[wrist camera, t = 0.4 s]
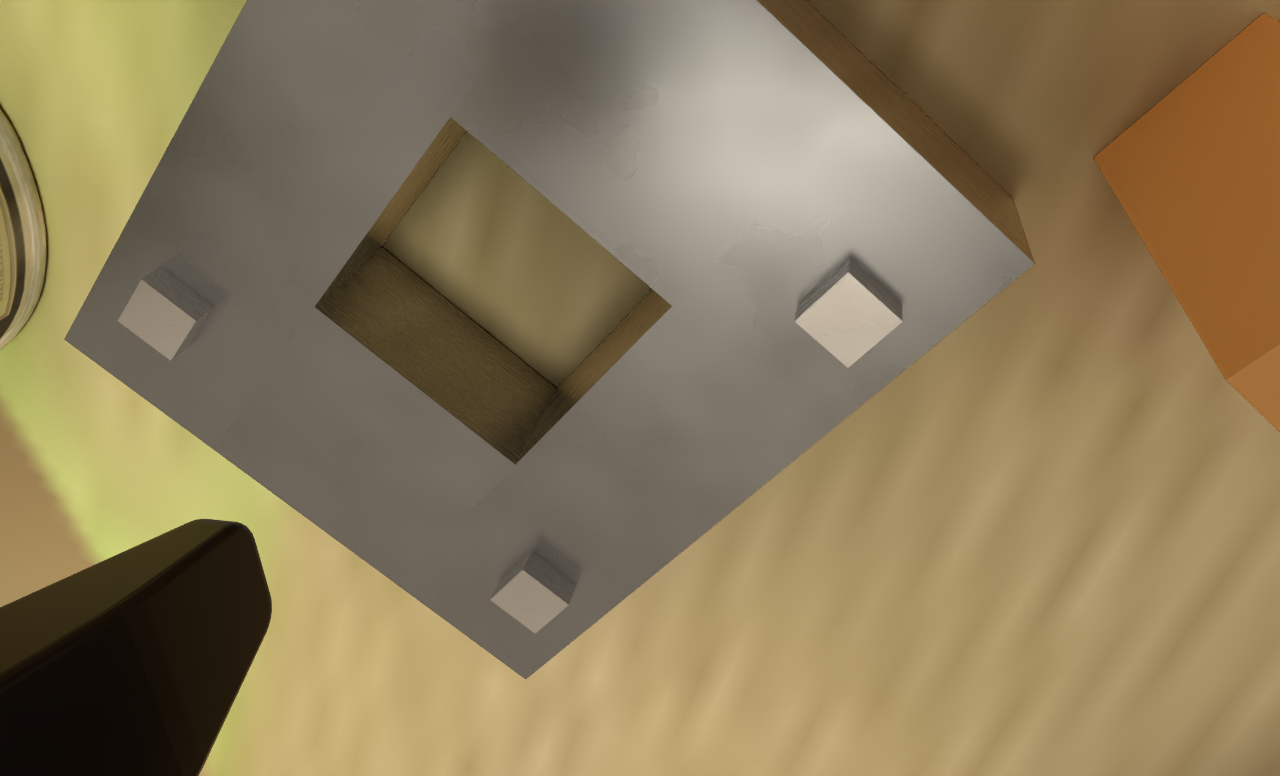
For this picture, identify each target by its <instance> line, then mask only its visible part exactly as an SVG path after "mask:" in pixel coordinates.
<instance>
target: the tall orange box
mask: <svg viewBox="0 0 1280 776" xmlns="http://www.w3.org/2000/svg"><path fill="white" fill-rule="evenodd" d="M1094 159H1095V161H1096V163H1097V164H1098V166H1099V168H1100V169H1101V171H1102V173H1103V174H1104V176H1105V178H1106V179H1107V181H1108V183H1109V185H1110V186H1111V188H1112V190H1113V191H1114V193H1115V195H1116V196H1117V198H1118V200H1119V201H1120V203H1121V205H1122V206H1123V208H1124V210H1125V211H1126V213H1127V215H1128V216H1129V218H1130V220H1131V221H1132V223H1133V225H1134V227H1135V228H1136V230H1137V232H1138V233H1139V235H1140V237H1141V238H1142V240H1143V242H1144V243H1145V245H1146V247H1147V248H1148V250H1149V252H1150V253H1151V255H1152V257H1153V258H1154V260H1155V262H1156V264H1157V265H1158V267H1159V269H1160V270H1161V272H1162V274H1163V275H1164V277H1165V279H1166V280H1167V282H1168V284H1169V285H1170V287H1171V289H1172V290H1173V292H1174V294H1175V295H1176V297H1177V299H1178V301H1179V302H1180V304H1181V306H1182V307H1183V309H1184V311H1185V312H1186V314H1187V316H1188V317H1189V319H1190V321H1191V322H1192V324H1193V326H1194V327H1195V329H1196V331H1197V332H1198V334H1199V336H1200V337H1201V339H1202V341H1203V343H1204V344H1205V346H1206V348H1207V349H1208V351H1209V353H1210V354H1211V356H1212V358H1213V359H1214V361H1215V363H1216V364H1217V366H1218V368H1219V369H1220V371H1221V373H1222V374H1223V376H1224V378H1225V380H1226V381H1227V382H1228V383H1229V384H1230V385H1231V386H1232V387H1233V388H1235V389H1236V390H1237V391H1238V392H1239V393H1240V394H1241V395H1242V396H1243V397H1244V398H1245V399H1246V400H1247V401H1248V402H1249V403H1250V404H1251V405H1252V406H1253V407H1254V408H1255V409H1256V410H1257V411H1258V412H1259V413H1260V414H1261V415H1263V416H1264V417H1265V418H1266V419H1267V420H1268V421H1269V422H1270V423H1271V424H1272V425H1273V426H1274V427H1275V428H1276V429H1277V430H1278V431H1279V432H1280V22H1279V21H1277V20H1275V19H1273V18H1272V17H1270V16H1268V15H1266V14H1264V13H1263V14H1262V15H1261V16H1260V17H1258V18H1257V19H1256V20H1255V21H1254V22H1252V23H1251V24H1250V25H1249V26H1248V27H1247V28H1245V29H1244V30H1243V31H1242V32H1241V33H1240V34H1238V35H1237V36H1236V37H1235V38H1234V39H1233V40H1231V41H1230V42H1229V43H1228V44H1227V45H1225V46H1224V47H1223V48H1222V49H1221V50H1220V51H1218V52H1217V53H1216V54H1215V55H1214V56H1213V57H1211V58H1210V59H1209V60H1208V61H1207V62H1205V63H1204V64H1203V65H1202V66H1201V67H1200V68H1198V69H1197V70H1196V71H1195V72H1194V73H1193V74H1191V75H1190V76H1189V77H1188V78H1187V79H1185V80H1184V81H1183V82H1182V83H1181V84H1180V85H1178V86H1177V87H1176V88H1175V89H1174V90H1173V91H1171V92H1170V93H1169V94H1168V95H1167V96H1165V97H1164V98H1163V99H1162V100H1161V101H1160V102H1158V103H1157V104H1156V105H1155V106H1154V107H1153V108H1151V109H1150V110H1149V111H1148V112H1147V113H1145V114H1144V115H1143V116H1142V117H1141V118H1140V119H1138V120H1137V121H1136V122H1135V123H1134V124H1133V125H1131V126H1130V127H1129V128H1128V129H1127V130H1125V131H1124V132H1123V133H1122V134H1121V135H1120V136H1118V137H1117V138H1116V139H1115V140H1114V141H1113V142H1111V143H1110V144H1109V145H1108V146H1107V147H1105V148H1104V149H1103V150H1102V151H1101V152H1100V153H1098V154H1097V155H1096V156H1095V157H1094Z"/></svg>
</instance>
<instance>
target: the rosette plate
mask: <svg viewBox="0 0 1280 776" xmlns="http://www.w3.org/2000/svg"><path fill="white" fill-rule="evenodd" d="M466 131H468V132H469V133H470V134H471V135H472V136H473V137H475V138H476V139H477V140H478V141H479V142H481V143H482V144H483V145H484V146H485V147H486V148H488V149H489V150H490V151H491V152H492V153H493V154H495V155H496V156H497V157H498V158H499V159H500V160H502V161H503V162H504V163H505V164H506V165H507V166H509V167H510V168H511V169H512V170H513V171H515V172H516V173H517V174H518V175H519V176H520V177H522V178H523V179H524V180H525V181H526V182H527V183H529V184H530V185H531V186H532V187H533V188H534V189H536V190H537V191H538V192H539V193H540V194H541V195H543V196H544V197H545V198H546V199H547V200H549V201H550V202H551V203H552V204H553V205H554V206H556V207H557V208H558V209H559V210H560V211H561V212H563V213H564V214H565V215H566V216H567V217H568V218H570V219H571V220H572V221H573V222H574V223H575V224H577V225H578V226H579V227H580V228H581V229H582V230H584V231H585V232H586V233H587V234H588V235H590V236H591V237H592V238H593V239H594V240H595V241H597V242H598V243H599V244H600V245H601V246H602V247H604V248H605V249H606V250H607V251H608V252H609V253H611V254H612V255H613V256H614V257H615V258H616V259H618V260H619V261H620V262H621V263H622V264H624V265H625V266H626V267H627V268H628V269H629V270H631V271H632V272H633V273H634V274H635V275H636V276H638V277H639V278H640V279H641V280H642V281H643V282H645V283H646V284H647V285H648V286H649V287H650V288H652V291H651V292H650V293H649V294H648V295H647V296H646V297H645V298H644V299H643V300H642V301H641V302H640V303H639V304H638V305H637V306H636V307H635V308H634V309H633V310H632V311H631V312H630V313H629V314H628V315H627V317H626V318H625V319H624V320H623V321H622V322H621V323H620V324H619V325H618V326H617V327H616V328H615V329H614V330H613V331H612V332H611V333H610V334H609V335H608V336H607V337H606V338H605V339H604V340H603V342H602V343H601V344H600V345H599V346H598V347H597V348H596V349H595V350H594V351H593V352H592V353H591V354H590V355H589V356H588V357H587V358H586V359H585V360H584V361H583V362H582V363H581V364H580V365H579V366H578V368H577V369H576V370H575V371H574V372H573V373H572V374H571V375H570V376H569V377H568V378H567V379H566V380H565V381H564V382H563V383H562V384H561V385H560V386H559V387H558V388H557V389H556V388H555V387H554V386H553V385H551V384H550V383H549V382H548V381H547V380H545V379H544V378H543V377H542V376H540V375H539V374H538V373H537V372H535V371H534V370H533V369H532V368H530V367H529V366H528V365H527V364H526V363H524V362H523V361H522V360H521V359H519V358H518V357H517V356H516V355H514V354H513V353H512V352H511V351H509V350H508V349H507V348H506V347H505V346H503V345H502V344H501V343H500V342H498V341H497V340H496V339H495V338H493V337H492V336H491V335H490V334H489V333H487V332H486V331H485V330H484V329H482V328H481V327H480V326H479V325H477V324H476V323H475V322H474V321H472V320H471V319H470V318H469V317H468V316H466V315H465V314H464V313H463V312H461V311H460V310H459V309H458V308H456V307H455V306H454V305H453V304H452V303H450V302H449V301H448V300H447V299H445V298H444V297H443V296H442V295H440V294H439V293H438V292H437V291H435V290H434V289H433V288H432V287H431V286H429V285H428V284H427V283H426V282H424V281H423V280H422V279H421V278H419V277H418V276H417V275H416V274H414V273H413V272H412V271H411V270H410V269H408V268H407V267H406V266H405V265H403V264H402V263H401V262H400V261H398V260H397V259H396V258H395V257H394V256H392V255H391V254H390V253H389V252H387V251H386V250H385V249H384V248H382V245H383V244H384V243H385V241H386V240H387V239H388V237H389V236H390V234H391V233H392V232H393V230H394V229H395V228H396V226H397V225H398V224H399V222H400V221H401V219H402V218H403V217H404V215H405V214H406V213H407V211H408V210H409V209H410V207H411V206H412V204H413V203H414V202H415V200H416V199H417V198H418V196H419V195H420V194H421V192H422V191H423V189H424V188H425V187H426V185H427V184H428V183H429V181H430V180H431V179H432V177H433V176H434V174H435V173H436V172H437V170H438V169H439V168H440V166H441V165H442V164H443V162H444V161H445V159H446V158H447V157H448V155H449V154H450V153H451V151H452V150H453V149H454V147H455V146H456V144H457V143H458V142H459V140H460V139H461V138H462V136H463V135H464V134H465V132H466ZM1034 264H1035V262H1034V259H1033V256H1032V253H1031V250H1030V247H1029V244H1028V241H1027V238H1026V235H1025V232H1024V229H1023V226H1022V223H1021V220H1020V217H1019V214H1018V211H1017V208H1016V205H1015V202H1014V199H1013V198H1012V197H1011V196H1010V195H1009V194H1008V193H1007V192H1005V191H1004V190H1003V189H1002V188H1001V187H1000V186H999V185H998V184H997V183H996V182H995V181H994V180H993V179H992V178H991V177H990V176H989V175H988V174H987V173H986V172H985V171H984V170H983V169H981V168H980V167H979V166H978V165H977V164H976V163H975V162H974V161H973V160H972V159H971V158H970V157H969V156H968V155H967V154H966V153H965V152H964V151H963V150H962V149H961V148H960V147H959V146H957V145H956V144H955V143H954V142H953V141H952V140H951V139H950V138H949V137H948V136H947V135H946V134H945V133H944V132H943V131H942V130H941V129H940V128H939V127H938V126H937V125H936V124H935V123H933V122H932V121H931V120H930V119H929V118H928V117H927V116H926V115H925V114H924V113H923V112H922V111H921V110H920V109H919V108H918V107H917V106H916V105H915V104H914V103H913V102H912V101H910V100H909V99H908V98H907V97H906V96H905V95H904V94H903V93H902V92H901V91H900V90H899V89H898V88H897V87H896V86H895V85H894V84H893V83H892V82H891V81H890V80H889V79H888V78H886V77H885V76H884V75H883V74H882V73H881V72H880V71H879V70H878V69H877V68H876V67H875V66H874V65H873V64H872V63H871V62H870V61H869V60H868V59H867V58H866V57H865V56H864V55H862V54H861V53H860V52H859V51H858V50H857V49H856V48H855V47H854V46H853V45H852V44H851V43H850V42H849V41H848V40H847V39H846V38H845V37H844V36H843V35H842V34H841V33H840V32H838V31H837V30H836V29H835V28H834V27H833V26H832V25H831V24H830V23H829V22H828V21H827V20H826V19H825V18H824V17H823V16H822V15H821V14H820V13H819V12H818V11H817V10H816V9H814V8H813V7H812V6H811V5H810V4H809V3H808V2H807V1H806V0H247V1H246V3H245V5H244V7H243V8H242V10H241V12H240V14H239V16H238V18H237V20H236V21H235V23H234V25H233V27H232V29H231V31H230V33H229V34H228V36H227V38H226V40H225V42H224V44H223V46H222V47H221V49H220V51H219V53H218V55H217V57H216V59H215V60H214V62H213V64H212V66H211V68H210V70H209V72H208V73H207V75H206V77H205V79H204V81H203V83H202V85H201V86H200V88H199V90H198V92H197V94H196V96H195V98H194V99H193V101H192V103H191V105H190V107H189V109H188V111H187V112H186V114H185V116H184V118H183V120H182V122H181V124H180V125H179V127H178V129H177V131H176V133H175V135H174V137H173V138H172V140H171V142H170V144H169V146H168V148H167V150H166V151H165V153H164V155H163V157H162V159H161V161H160V163H159V164H158V166H157V168H156V170H155V172H154V174H153V176H152V177H151V179H150V181H149V183H148V185H147V187H146V189H145V190H144V192H143V194H142V196H141V198H140V200H139V202H138V203H137V205H136V207H135V209H134V211H133V213H132V215H131V216H130V218H129V220H128V222H127V224H126V226H125V228H124V229H123V231H122V233H121V235H120V237H119V239H118V241H117V242H116V244H115V246H114V248H113V250H112V252H111V254H110V255H109V257H108V259H107V261H106V263H105V265H104V267H103V268H102V270H101V272H100V274H99V276H98V278H97V280H96V281H95V283H94V285H93V287H92V289H91V291H90V293H89V294H88V296H87V298H86V300H85V302H84V304H83V306H82V307H81V309H80V311H79V313H78V315H77V317H76V319H75V320H74V322H73V324H72V326H71V328H70V330H69V332H68V333H67V335H66V337H65V339H64V340H66V341H67V342H68V343H70V344H71V345H72V346H74V347H75V348H77V349H78V350H79V351H81V352H82V353H83V354H85V355H86V356H87V357H89V358H90V359H91V360H93V361H94V362H96V363H97V364H98V365H100V366H101V367H102V368H104V369H105V370H106V371H108V372H109V373H110V374H112V375H113V376H115V377H116V378H117V379H119V380H120V381H121V382H123V383H124V384H125V385H127V386H128V387H129V388H131V389H132V390H134V391H135V392H136V393H138V394H139V395H140V396H142V397H143V398H144V399H146V400H147V401H148V402H150V403H151V404H153V405H154V406H155V407H157V408H158V409H159V410H161V411H162V412H163V413H165V414H166V415H167V416H169V417H170V418H172V419H173V420H174V421H176V422H177V423H178V424H180V425H181V426H182V427H184V428H185V429H187V430H188V431H189V432H191V433H192V434H193V435H195V436H196V437H197V438H199V439H200V440H201V441H203V442H204V443H206V444H207V445H208V446H210V447H211V448H212V449H214V450H215V451H216V452H218V453H219V454H220V455H222V456H223V457H225V458H226V459H227V460H229V461H230V462H231V463H233V464H234V465H235V466H237V467H238V468H239V469H241V470H242V471H244V472H245V473H246V474H248V475H249V476H250V477H252V478H253V479H254V480H256V481H257V482H258V483H260V484H261V485H263V486H264V487H265V488H267V489H268V490H269V491H271V492H272V493H273V494H275V495H276V496H277V497H279V498H280V499H282V500H283V501H284V502H286V503H287V504H288V505H290V506H291V507H292V508H294V509H295V510H296V511H298V512H299V513H301V514H302V515H303V516H305V517H306V518H307V519H309V520H310V521H311V522H313V523H314V524H315V525H317V526H318V527H320V528H321V529H322V530H324V531H325V532H326V533H328V534H329V535H330V536H332V537H333V538H334V539H336V540H337V541H339V542H340V543H341V544H343V545H344V546H345V547H347V548H348V549H349V550H351V551H352V552H353V553H355V554H356V555H358V556H359V557H360V558H362V559H363V560H364V561H366V562H367V563H368V564H370V565H371V566H372V567H374V568H375V569H377V570H378V571H379V572H381V573H382V574H383V575H385V576H386V577H387V578H389V579H390V580H391V581H393V582H394V583H396V584H397V585H398V586H400V587H401V588H402V589H404V590H405V591H406V592H408V593H409V594H411V595H412V596H413V597H415V598H416V599H417V600H419V601H420V602H421V603H423V604H424V605H425V606H427V607H428V608H430V609H431V610H432V611H434V612H435V613H436V614H438V615H439V616H440V617H442V618H443V619H444V620H446V621H447V622H449V623H450V624H451V625H453V626H454V627H455V628H457V629H458V630H459V631H461V632H462V633H463V634H465V635H466V636H468V637H469V638H470V639H472V640H473V641H474V642H476V643H477V644H478V645H480V646H481V647H482V648H484V649H485V650H487V651H488V652H489V653H491V654H492V655H493V656H495V657H496V658H497V659H499V660H500V661H501V662H503V663H504V664H506V665H507V666H508V667H510V668H511V669H512V670H514V671H515V672H516V673H518V674H519V675H520V676H522V677H523V678H525V679H527V678H528V677H529V676H531V675H532V674H533V673H534V672H535V671H537V670H538V669H539V668H540V667H542V666H543V665H544V664H545V663H546V662H548V661H549V660H550V659H551V658H553V657H554V656H555V655H556V654H557V653H559V652H560V651H561V650H562V649H564V648H565V647H566V646H567V645H568V644H570V643H571V642H572V641H573V640H575V639H576V638H577V637H578V636H580V635H581V634H582V633H583V632H584V631H586V630H587V629H588V628H589V627H591V626H592V625H593V624H594V623H595V622H597V621H598V620H599V619H600V618H602V617H603V616H604V615H605V614H606V613H608V612H609V611H610V610H611V609H613V608H614V607H615V606H616V605H617V604H619V603H620V602H621V601H622V600H624V599H625V598H626V597H627V596H629V595H630V594H631V593H632V592H633V591H635V590H636V589H637V588H638V587H640V586H641V585H642V584H643V583H644V582H646V581H647V580H648V579H649V578H651V577H652V576H653V575H654V574H655V573H657V572H658V571H659V570H660V569H662V568H663V567H664V566H665V565H666V564H668V563H669V562H670V561H671V560H673V559H674V558H675V557H676V556H677V555H679V554H680V553H681V552H682V551H684V550H685V549H686V548H687V547H689V546H690V545H691V544H692V543H693V542H695V541H696V540H697V539H698V538H700V537H701V536H702V535H703V534H704V533H706V532H707V531H708V530H709V529H711V528H712V527H713V526H714V525H715V524H717V523H718V522H719V521H720V520H722V519H723V518H724V517H725V516H726V515H728V514H729V513H730V512H731V511H733V510H734V509H735V508H736V507H738V506H739V505H740V504H741V503H742V502H744V501H745V500H746V499H747V498H749V497H750V496H751V495H752V494H753V493H755V492H756V491H757V490H758V489H760V488H761V487H762V486H763V485H764V484H766V483H767V482H768V481H769V480H771V479H772V478H773V477H774V476H775V475H777V474H778V473H779V472H780V471H782V470H783V469H784V468H785V467H786V466H788V465H789V464H790V463H791V462H793V461H794V460H795V459H796V458H798V457H799V456H800V455H801V454H802V453H804V452H805V451H806V450H807V449H809V448H810V447H811V446H812V445H813V444H815V443H816V442H817V441H818V440H820V439H821V438H822V437H823V436H824V435H826V434H827V433H828V432H829V431H831V430H832V429H833V428H834V427H835V426H837V425H838V424H839V423H840V422H842V421H843V420H844V419H845V418H847V417H848V416H849V415H850V414H851V413H853V412H854V411H855V410H856V409H858V408H859V407H860V406H861V405H862V404H864V403H865V402H866V401H867V400H869V399H870V398H871V397H872V396H873V395H875V394H876V393H877V392H878V391H880V390H881V389H882V388H883V387H884V386H886V385H887V384H888V383H889V382H891V381H892V380H893V379H894V378H895V377H897V376H898V375H899V374H900V373H902V372H903V371H904V370H905V369H907V368H908V367H909V366H910V365H911V364H913V363H914V362H915V361H916V360H918V359H919V358H920V357H921V356H922V355H924V354H925V353H926V352H927V351H929V350H930V349H931V348H932V347H933V346H935V345H936V344H937V343H938V342H940V341H941V340H942V339H943V338H944V337H946V336H947V335H948V334H949V333H951V332H952V331H953V330H954V329H956V328H957V327H958V326H959V325H960V324H962V323H963V322H964V321H965V320H967V319H968V318H969V317H970V316H971V315H973V314H974V313H975V312H976V311H978V310H979V309H980V308H981V307H982V306H984V305H985V304H986V303H987V302H989V301H990V300H991V299H992V298H993V297H995V296H996V295H997V294H998V293H1000V292H1001V291H1002V290H1003V289H1004V288H1006V287H1007V286H1008V285H1009V284H1011V283H1012V282H1013V281H1014V280H1016V279H1017V278H1018V277H1019V276H1020V275H1022V274H1023V273H1024V272H1025V271H1027V270H1028V269H1029V268H1030V267H1031V266H1033V265H1034Z"/></svg>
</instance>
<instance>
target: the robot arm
mask: <svg viewBox="0 0 1280 776" xmlns="http://www.w3.org/2000/svg"><path fill="white" fill-rule="evenodd" d="M271 613H272V601H271V596H270V592H269V588H268V585H267V581H266V578H265V574H264V571H263V567H262V564H261V560H260V557H259V553H258V550H257V546H256V543H255V539H254V537H253V534H252V532H251V531H250V530H249V529H248V528H247V527H246V526H245V525H243V524H241V523H238V522H231V521H221V520H212V519H198V520H194V521H191V522H189V523H186V524H184V525H182V526H180V527H177V528H175V529H173V530H171V531H169V532H166V533H164V534H162V535H160V536H158V537H155V538H153V539H151V540H149V541H146V542H144V543H142V544H140V545H138V546H135V547H133V548H131V549H129V550H127V551H124V552H122V553H120V554H118V555H115V556H113V557H111V558H109V559H107V560H104V561H102V562H100V563H98V564H96V565H93V566H91V567H89V568H87V569H84V570H82V571H80V572H78V573H76V574H73V575H71V576H69V577H67V578H65V579H62V580H60V581H58V582H56V583H53V584H51V585H49V586H47V587H45V588H42V589H40V590H38V591H36V592H34V593H31V594H29V595H27V596H25V597H23V598H20V599H18V600H16V601H14V602H12V603H10V604H7V605H5V606H3V607H0V776H199V774H200V772H201V770H202V768H203V766H204V764H205V762H206V760H207V757H208V755H209V753H210V751H211V749H212V747H213V745H214V743H215V740H216V738H217V736H218V734H219V732H220V730H221V728H222V726H223V723H224V721H225V719H226V717H227V715H228V713H229V711H230V709H231V706H232V704H233V702H234V700H235V698H236V696H237V694H238V692H239V689H240V687H241V685H242V683H243V681H244V679H245V677H246V675H247V672H248V670H249V668H250V666H251V664H252V662H253V660H254V658H255V655H256V653H257V651H258V649H259V647H260V645H261V643H262V641H263V638H264V636H265V634H266V632H267V629H268V627H269V623H270V619H271Z"/></svg>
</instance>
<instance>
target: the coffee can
mask: <svg viewBox="0 0 1280 776" xmlns="http://www.w3.org/2000/svg"><path fill="white" fill-rule="evenodd" d="M45 267H46V229H45V224H44V218H43V212H42V207H41V203H40V198H39V195H38V191H37V188H36V185H35V181H34V178H33V175H32V172H31V169H30V166H29V164H28V161H27V159H26V156H25V155H24V153H23V150H22V147H21V144H20V141H19V139H18V137H17V135H16V133H15V131H14V129H13V127H12V126H11V124H10V122H9V121H8V119H7V118H6V117H5V115H4V114H3V112H2V111H1V109H0V348H2V347H3V346H4V345H6V344H7V343H8V342H10V341H11V340H12V339H13V338H14V337H15V336H16V335H17V334H18V333H19V331H20V330H21V329H22V328H23V326H24V325H25V324H26V322H27V321H28V319H29V318H30V316H31V314H32V313H33V311H34V308H35V306H36V304H37V302H38V300H39V297H40V294H41V291H42V288H43V284H44V277H45Z"/></svg>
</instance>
